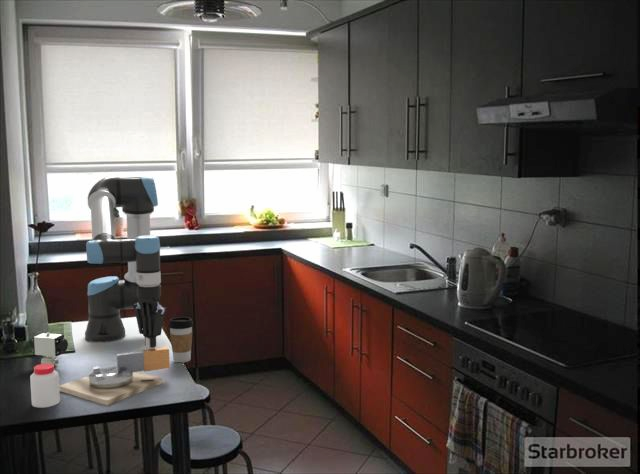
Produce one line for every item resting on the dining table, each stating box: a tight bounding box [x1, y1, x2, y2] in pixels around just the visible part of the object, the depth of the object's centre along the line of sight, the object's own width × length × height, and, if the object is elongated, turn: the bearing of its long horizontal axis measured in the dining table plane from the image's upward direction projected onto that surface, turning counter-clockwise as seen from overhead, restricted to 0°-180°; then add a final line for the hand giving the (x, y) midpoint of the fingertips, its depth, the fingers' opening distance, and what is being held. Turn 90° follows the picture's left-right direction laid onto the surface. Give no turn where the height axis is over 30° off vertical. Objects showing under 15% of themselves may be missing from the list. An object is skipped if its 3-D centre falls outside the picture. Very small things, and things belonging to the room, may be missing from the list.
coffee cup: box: [168, 316, 194, 363], centre depth 232 cm, size 8×8×15 cm
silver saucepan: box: [88, 346, 171, 389], centre depth 208 cm, size 24×13×8 cm, turn 115°
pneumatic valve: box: [29, 332, 69, 367], centre depth 225 cm, size 6×12×12 cm, turn 78°
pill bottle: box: [29, 363, 61, 409], centre depth 193 cm, size 8×8×11 cm
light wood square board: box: [59, 365, 164, 406], centre depth 207 cm, size 22×22×2 cm
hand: (150, 356), depth 213 cm, fingers closed
